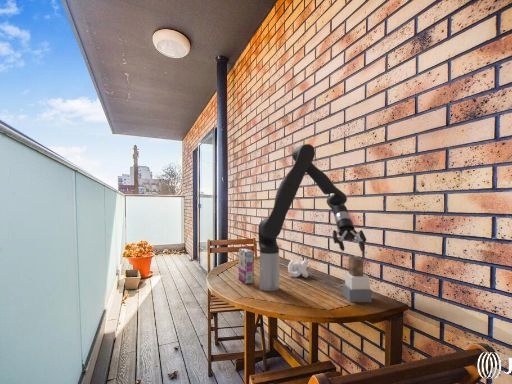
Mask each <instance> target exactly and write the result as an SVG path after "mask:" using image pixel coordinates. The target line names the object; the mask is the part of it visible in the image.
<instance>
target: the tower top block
mask: <svg viewBox="0 0 512 384" xmlns="http://www.w3.org/2000/svg"><path fill="white" fill-rule="evenodd" d="M344 281H345V282H344V284H346V285H347V286H348V287H350V288H351V289H371V285H370V282H371V281H370V276H368V275H367V274H364V273H363V276H352V275H350V274H349V272H345V273H344Z"/></svg>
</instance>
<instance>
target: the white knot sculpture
mask: <svg viewBox="0 0 512 384" xmlns="http://www.w3.org/2000/svg"><path fill="white" fill-rule="evenodd" d="M308 267H309V262H308V260H307V259H304V260H302V262H301V261H300V260H298V259H296V258H295V259H291V260H290V261H289V263H288V265H287V271H288V275H289V276H291V277H292V278H298V277H301V275H302V277H304V278H308V276H309V273H308V271H307V268H308Z"/></svg>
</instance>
